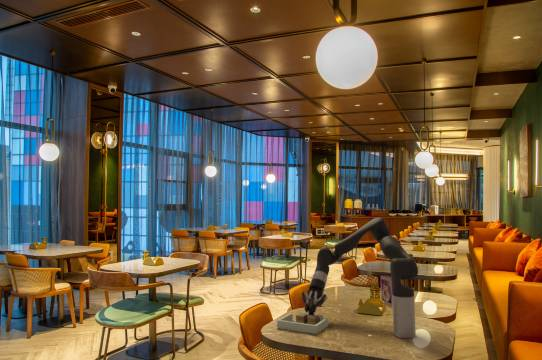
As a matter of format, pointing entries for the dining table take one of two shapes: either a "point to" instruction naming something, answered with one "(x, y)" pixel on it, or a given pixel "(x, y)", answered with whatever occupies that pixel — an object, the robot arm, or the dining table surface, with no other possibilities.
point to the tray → (300, 325)
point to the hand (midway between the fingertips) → (309, 311)
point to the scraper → (310, 305)
